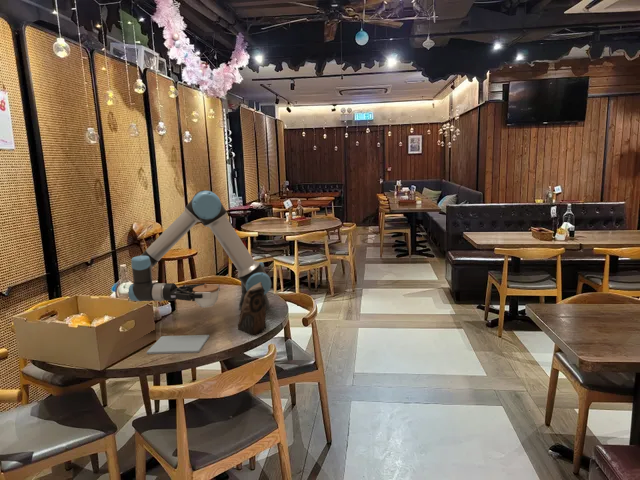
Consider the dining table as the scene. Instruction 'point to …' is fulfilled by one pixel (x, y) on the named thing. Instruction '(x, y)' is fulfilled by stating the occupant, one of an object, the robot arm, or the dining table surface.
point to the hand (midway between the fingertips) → (215, 291)
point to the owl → (253, 311)
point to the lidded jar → (207, 288)
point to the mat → (179, 344)
